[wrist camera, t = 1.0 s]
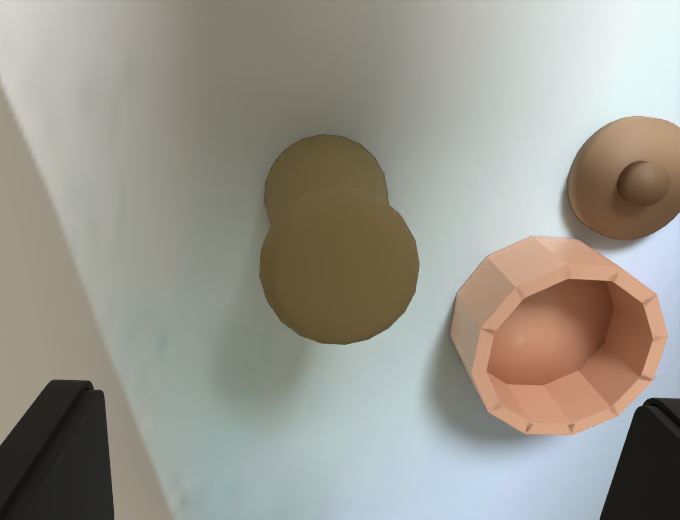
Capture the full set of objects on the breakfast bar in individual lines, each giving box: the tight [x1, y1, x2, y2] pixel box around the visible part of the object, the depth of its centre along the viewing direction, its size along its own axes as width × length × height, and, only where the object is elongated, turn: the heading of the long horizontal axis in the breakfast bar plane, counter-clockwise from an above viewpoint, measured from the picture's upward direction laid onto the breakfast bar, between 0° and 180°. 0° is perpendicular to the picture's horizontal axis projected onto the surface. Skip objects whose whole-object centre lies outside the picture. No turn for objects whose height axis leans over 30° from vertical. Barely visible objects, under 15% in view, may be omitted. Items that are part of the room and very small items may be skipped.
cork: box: [259, 135, 419, 345], centre depth 21 cm, size 6×6×11 cm
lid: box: [567, 116, 680, 240], centre depth 26 cm, size 6×6×2 cm
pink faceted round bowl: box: [450, 236, 668, 435], centre depth 28 cm, size 9×9×4 cm
